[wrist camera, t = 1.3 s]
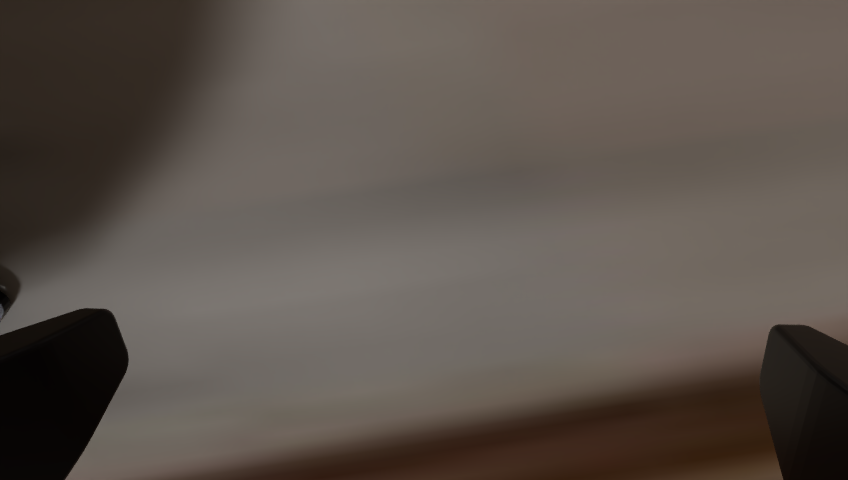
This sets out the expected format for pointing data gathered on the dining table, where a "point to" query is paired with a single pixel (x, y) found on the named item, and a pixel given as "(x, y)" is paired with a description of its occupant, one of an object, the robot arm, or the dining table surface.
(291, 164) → the dining table surface
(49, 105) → the dining table surface
